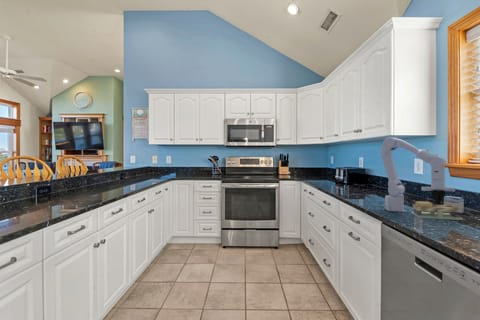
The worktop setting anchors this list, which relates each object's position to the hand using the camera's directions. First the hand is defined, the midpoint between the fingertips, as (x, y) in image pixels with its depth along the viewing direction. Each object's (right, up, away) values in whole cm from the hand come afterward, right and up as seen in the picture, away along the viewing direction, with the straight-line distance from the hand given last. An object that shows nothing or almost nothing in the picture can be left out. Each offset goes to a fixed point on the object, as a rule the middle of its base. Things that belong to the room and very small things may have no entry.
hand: (437, 204), depth 135 cm
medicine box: (+17, -6, +10) cm, 21 cm away
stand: (-1, -7, 0) cm, 7 cm away
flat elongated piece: (-1, -3, 0) cm, 3 cm away
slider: (-6, -2, +2) cm, 7 cm away
